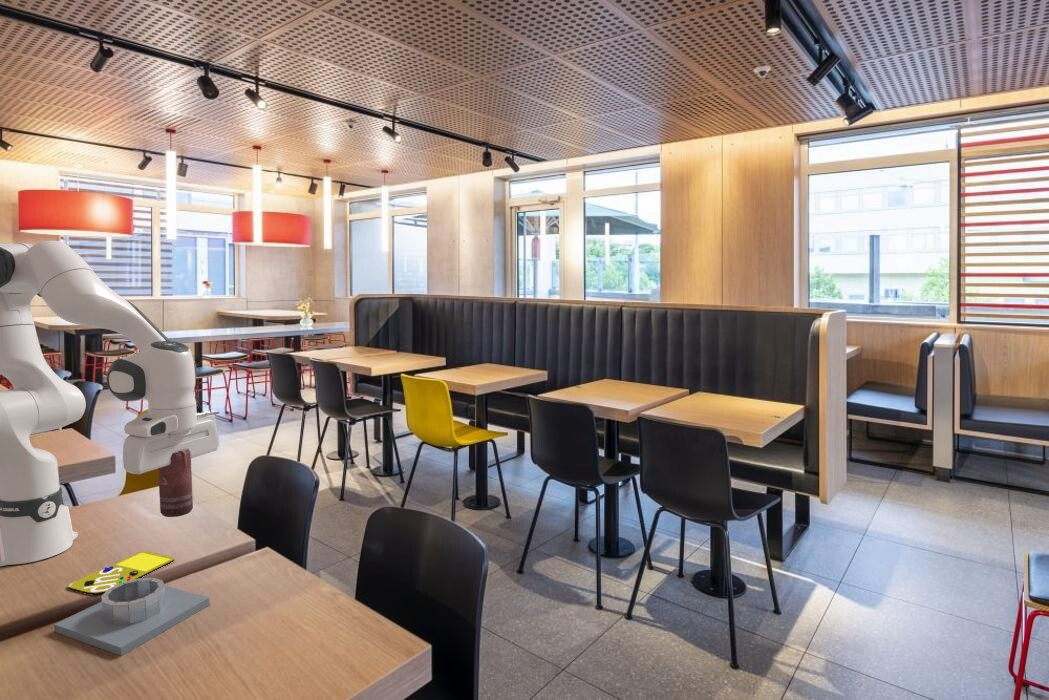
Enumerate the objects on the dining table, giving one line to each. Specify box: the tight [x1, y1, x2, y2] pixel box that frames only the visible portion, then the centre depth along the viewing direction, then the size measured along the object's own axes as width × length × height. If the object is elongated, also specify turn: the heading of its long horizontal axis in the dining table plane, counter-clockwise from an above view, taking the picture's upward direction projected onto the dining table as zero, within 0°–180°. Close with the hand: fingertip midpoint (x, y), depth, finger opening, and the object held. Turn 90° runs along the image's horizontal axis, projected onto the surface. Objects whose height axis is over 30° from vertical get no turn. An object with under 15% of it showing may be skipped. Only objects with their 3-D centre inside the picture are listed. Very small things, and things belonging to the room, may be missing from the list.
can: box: [157, 448, 194, 518], centre depth 132 cm, size 6×6×14 cm
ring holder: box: [100, 577, 166, 626], centre depth 118 cm, size 10×10×4 cm
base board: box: [53, 584, 211, 657], centre depth 118 cm, size 18×18×2 cm
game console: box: [68, 550, 175, 596], centre depth 135 cm, size 18×11×2 cm, turn 161°
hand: (175, 481), depth 132 cm, fingers closed, pressing on can
